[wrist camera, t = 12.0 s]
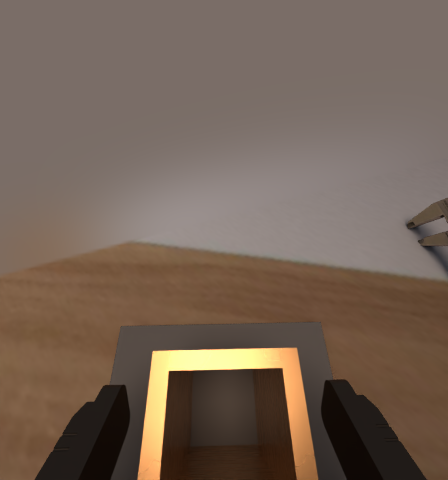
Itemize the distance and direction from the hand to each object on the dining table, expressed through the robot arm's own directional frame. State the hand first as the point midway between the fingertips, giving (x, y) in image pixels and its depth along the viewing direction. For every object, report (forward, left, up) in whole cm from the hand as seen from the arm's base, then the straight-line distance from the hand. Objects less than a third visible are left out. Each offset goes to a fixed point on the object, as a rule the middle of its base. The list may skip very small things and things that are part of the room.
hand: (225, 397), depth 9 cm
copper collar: (0, +1, -6) cm, 6 cm away
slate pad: (0, +1, -6) cm, 6 cm away
